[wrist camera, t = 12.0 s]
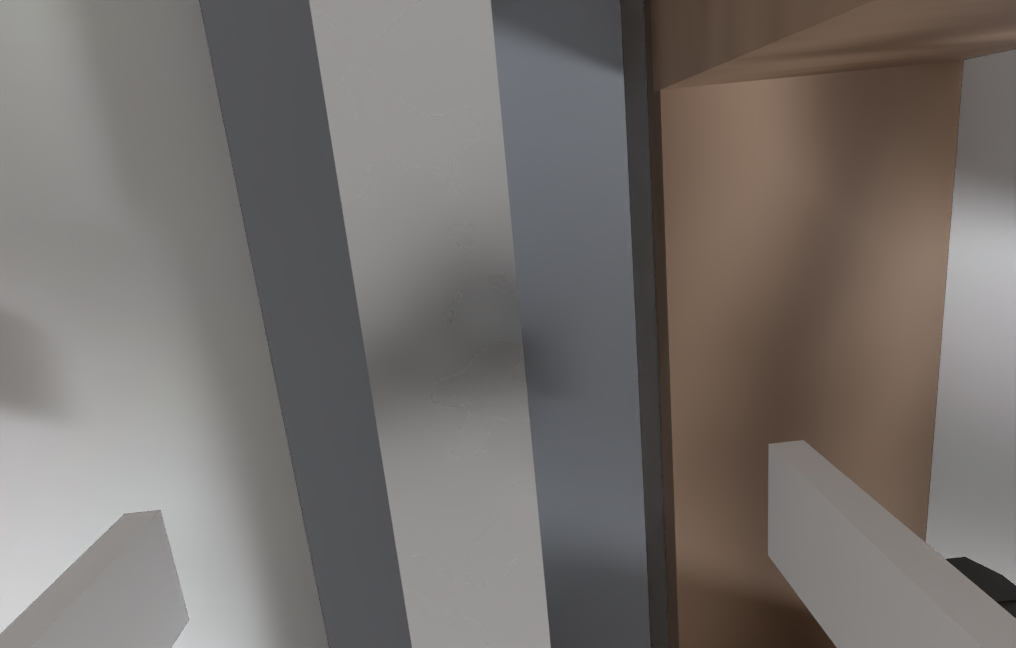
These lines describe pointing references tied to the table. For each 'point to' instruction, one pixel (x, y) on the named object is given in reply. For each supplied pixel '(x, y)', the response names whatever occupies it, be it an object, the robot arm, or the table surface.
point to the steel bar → (438, 309)
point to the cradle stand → (797, 271)
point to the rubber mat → (541, 293)
